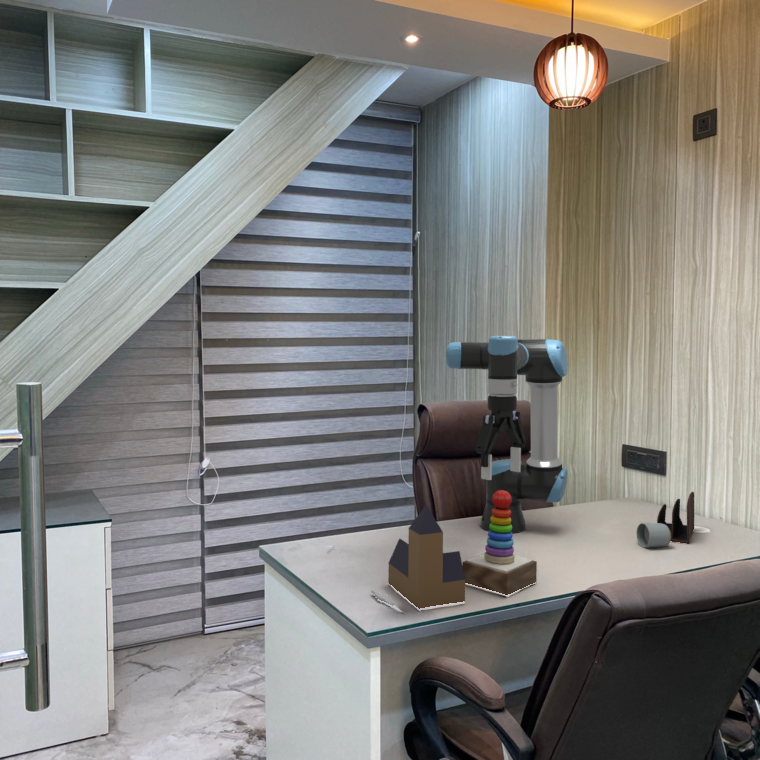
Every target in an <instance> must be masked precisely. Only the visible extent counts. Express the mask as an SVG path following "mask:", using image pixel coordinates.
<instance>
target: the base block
mask: <svg viewBox="0 0 760 760" xmlns="http://www.w3.org/2000/svg"><path fill="white" fill-rule="evenodd" d="M484 554H485V552H484V553H482V554H479V555H477V556H474V557H472V558H469V559H467V560H463V561H462V566H463V571H464V576H465V583H468V584H472V585H475V586H478V587H482V588H486V589H489V590H492V591H496V592H499V593H502V594H505V595H508V594H511V593H513V592H515V591H517V590H519V589H522V588H524V587H526V586H528V585H530V584H533V583H535V582H536V583H537V568H538V567H537V565H538V564H537V563H538V561H536V560H532V559H529V558H526V557H522V556H519V555H515V554H514V556H515V559H514V561H513V562H511V563H507V564H497V563H492V562H489V561H487V560H486V559H485V557H484Z"/></svg>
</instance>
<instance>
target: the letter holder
mask: <svg viewBox="0 0 760 760" xmlns="http://www.w3.org/2000/svg"><path fill="white" fill-rule="evenodd" d="M666 512H667V504H665V503H664V504H663V505H662V506H661V508H660V509H659V511H658V514H657V518H656V523H661V524H665V525H667V526H668V528H669V529H670V532H671V541H672V542H671V543H676V542H680V543H679V544H683V543H687V544H686V545H689V544H690V542H691V539H692V537H693V533H694V531H695V492H694V491H691V492H690V493H689V495H688V498H687V503H686V524H683V521H682V518H681V515H680V513H681V498H677V499H676V501H675V502H674V504H673V507H672V510H671V523H670V522H667V521H666V516H667V515H666ZM693 530H694V531H693Z"/></svg>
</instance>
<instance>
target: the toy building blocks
mask: <svg viewBox="0 0 760 760" xmlns="http://www.w3.org/2000/svg"><path fill="white" fill-rule="evenodd" d="M462 565H463V560H462V556H461V553H460V550H457V551H449V552H444V531H443V529H442V528H441V527H440V525H439V523H438V522H437V520H436V519H435V517H434V515H433V514H432V512H431V511H430V509H429V508H428V506H427V504H425V506H424V507H423V508H422V510H421V511H420V512H419V514H418V515H417V517H415V519H414V520H413V522H412V523H411V525H409V527H408V542H406V541H405V540H404V539H402V538H399V539H398V540H397V543H396V545H395V548H394V549H393V552H392V554H391V556H390V559H389V561H388V569H387V570H388V583H389V584H390V585H392V586H393V587H394V588H395V589H396V590H397V591H399V592H400V593H401V594H402V595H403V596H404V597H406V598H407V599H408V600H409V601H410V602H411V603H413V604H414V605H415V606H416V607H418V608H419V609H420V608H425V607H430V606H436V605H443V604H449V603H457V602H463V601H465V602H466V585H465V576H464V571H463V566H462Z"/></svg>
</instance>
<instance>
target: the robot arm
mask: <svg viewBox="0 0 760 760" xmlns="http://www.w3.org/2000/svg"><path fill="white" fill-rule="evenodd" d="M445 361H446V364H447V366H448V368H450V369H457V370H487V373H488V374H487V394H489V395H488V396H487V409H488V410H489V411H491V413H490V415H489V414H488V415H487V414H484V415H483V416H482V417H483V418H482V424H481V425H482V426H481V429H480V433H479V435H478V439H477V442H476V446H475V448H474V450H475V452H476V454H479V455H480V467H481V468H480V470H481V472H480V474H481V475H480V479H481V480H486V483H485V484H486V493H485V497H486V498H485V503H486V504H485V507H484V510H483V512H482V516H481V518H480V527H482V528H481V529H483V530H484V529H485V531H487V532H489V530H490V527H489V526H490V524H491V523H492V522H491V520H490V518H491V516H492V515H493V514H492V509H493V508H495V506H494V504H493V502H492V497H493V495H494V493H495V492H497V491H499V490H505V491H507V492H508V493H509V494H510V495H511V498H512V501H511V504H510V506H509V507H508V509H510V510H511V515H510V516H509V517H510V518H511V523H510V524H511V525H512V530H511V532H512V534H516V533H520V532H521V533H522V532H524V531H525V530H526V523H527V522H526V519H525V516H524V513H523V509H522V506H521V504H522V503H521V501H522V500H524V501H535V502H545V503H559V502H561V501H562V499H563V498H564V495H565V492H566V487H567V483H568V475H569V474H568V468H566V467H563V461H562V460H561V459H560V458H559V457H558V386H559V385H560V384H561V383H562V382H563V378H565V377H566V376H567V374H568V365H569V364H568V355H567V350H566V348H565V345H564V343H563V342H562V341H561V340H558V339H550V338H549V339H548V338H547V339H546V338H545V339H544V338H542V339H540V338H539V339H538V338H537V339H533V338H532V339H518V337H517V336H515V335H492V336H490V337H489V339H488V342H475V341H474V342H473V341H470V342H467V341H463V342H462V341H454V342H450V343H449V344H448V345H447V347H446V350H445ZM518 376H525V383H526V384H527V385H528V386H530V388H529V391H530V392H529V393H530V394H529V395H530V396H529V397H530V402H529V403H530V404H529V405H530V457H529V458H528V459H526V462H525V463H526V464H523V462H522V460H521V459H522V448H526V444H527V439H526V436H525V431H524V428H523V425H522V424H523V423H522V420H521V412H520V411H516V410H517V406H518V405H517V404H518V398H517V396H516V395H517V393H518V390H517V389H518V383H517V382H518ZM502 432H505V433H506V435H507V437H508V439H509V441H510V443H511V444H512V446H511V447H510V458H507V459H499V460H494V461H493V455H492V454H491V452H492V449H493V447H494V445H495V443H496V441H497V438H498V436H499V434H501V433H502Z"/></svg>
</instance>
